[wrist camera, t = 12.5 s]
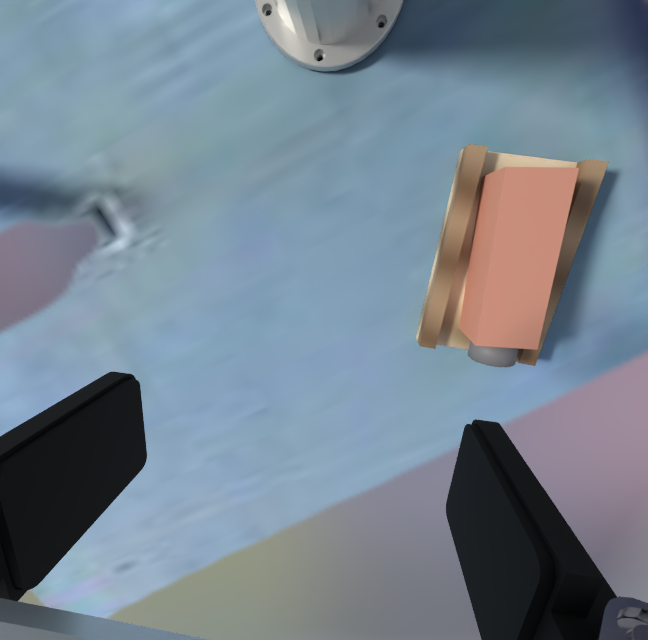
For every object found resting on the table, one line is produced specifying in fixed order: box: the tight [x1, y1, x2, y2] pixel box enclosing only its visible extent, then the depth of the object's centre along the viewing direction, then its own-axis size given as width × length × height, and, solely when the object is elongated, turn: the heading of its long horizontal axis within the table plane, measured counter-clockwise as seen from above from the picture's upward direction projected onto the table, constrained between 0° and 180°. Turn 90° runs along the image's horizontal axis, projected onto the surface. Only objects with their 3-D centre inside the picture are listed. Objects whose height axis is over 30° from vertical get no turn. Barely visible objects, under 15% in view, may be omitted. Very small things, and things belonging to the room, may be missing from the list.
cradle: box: [416, 144, 609, 366], centre depth 30 cm, size 18×11×2 cm, turn 172°
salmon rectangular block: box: [459, 167, 579, 367], centre depth 28 cm, size 16×5×5 cm, turn 179°
